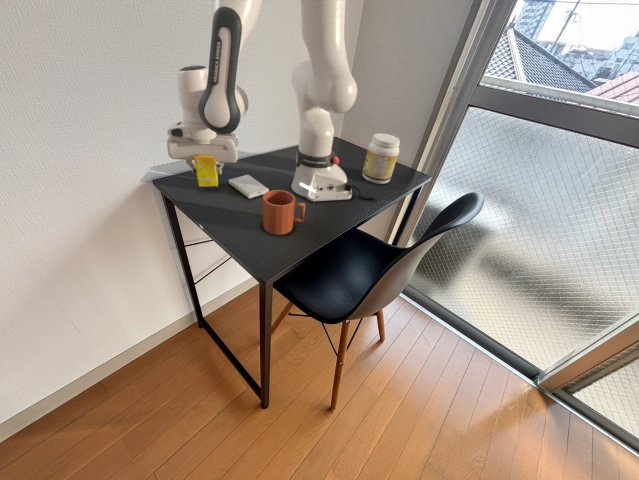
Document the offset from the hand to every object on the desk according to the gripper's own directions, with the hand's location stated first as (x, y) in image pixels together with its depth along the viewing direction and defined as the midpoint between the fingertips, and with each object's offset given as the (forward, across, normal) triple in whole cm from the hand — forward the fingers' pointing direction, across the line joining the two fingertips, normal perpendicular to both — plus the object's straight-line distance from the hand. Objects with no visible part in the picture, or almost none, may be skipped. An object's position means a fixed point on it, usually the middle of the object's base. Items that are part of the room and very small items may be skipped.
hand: (207, 172), depth 89 cm
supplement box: (+4, 0, 0) cm, 4 cm away
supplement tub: (+5, -64, -14) cm, 66 cm away
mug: (+5, -24, +21) cm, 33 cm away
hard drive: (+5, -13, -1) cm, 14 cm away
